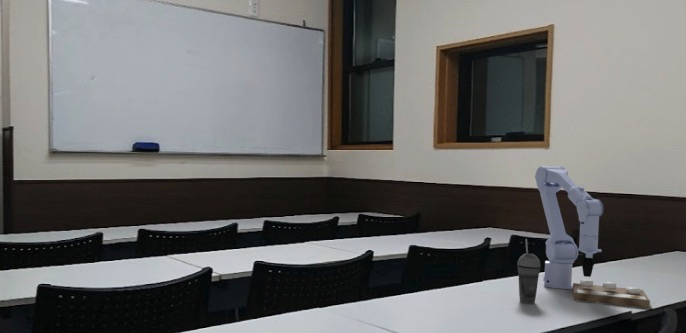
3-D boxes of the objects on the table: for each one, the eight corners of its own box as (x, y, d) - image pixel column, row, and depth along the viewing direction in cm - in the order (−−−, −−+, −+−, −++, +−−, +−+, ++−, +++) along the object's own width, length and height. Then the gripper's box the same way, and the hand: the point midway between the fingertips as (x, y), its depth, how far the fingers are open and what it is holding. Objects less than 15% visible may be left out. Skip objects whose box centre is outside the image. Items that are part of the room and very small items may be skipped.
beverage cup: (536, 306, 184) (538, 241, 183) (512, 302, 188) (515, 239, 187) (541, 301, 190) (544, 239, 189) (518, 298, 194) (521, 236, 193)
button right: (626, 293, 194) (626, 288, 194) (625, 291, 197) (625, 286, 197) (640, 294, 192) (640, 290, 192) (638, 292, 196) (638, 287, 196)
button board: (573, 300, 193) (574, 291, 193) (572, 290, 209) (573, 282, 208) (649, 308, 186) (649, 299, 186) (642, 297, 201) (643, 289, 201)
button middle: (603, 288, 196) (603, 283, 196) (602, 285, 200) (602, 281, 200) (616, 289, 195) (616, 284, 195) (615, 287, 198) (615, 282, 198)
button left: (580, 286, 198) (580, 281, 198) (579, 283, 202) (580, 278, 202) (593, 287, 197) (593, 282, 197) (592, 284, 201) (592, 280, 201)
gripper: (603, 239, 191) (601, 281, 191) (600, 234, 205) (598, 273, 205) (579, 237, 193) (577, 279, 194) (578, 232, 207) (576, 271, 207)
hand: (587, 276), depth 199 cm, fingers closed
